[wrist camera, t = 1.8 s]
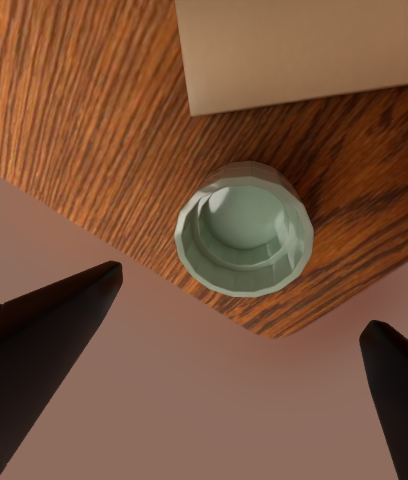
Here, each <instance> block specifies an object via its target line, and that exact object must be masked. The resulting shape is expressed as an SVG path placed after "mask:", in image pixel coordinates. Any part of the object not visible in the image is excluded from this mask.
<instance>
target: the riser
mask: <svg viewBox="0 0 408 480" xmlns="http://www.w3.org/2000/svg"><path fill="white" fill-rule="evenodd" d="M175 6H176V14H177V21H178V28H179V35H180V43H181V50H182V57H183V64H184V72H185V79H186V86H187V93H188V101H189V108H190V115H191V116H192V117H198V116H209V115H215V114H222V113H229V112H235V111H242V110H248V109H255V108H262V107H268V106H275V105H281V104H288V103H295V102H301V101H308V100H314V99H321V98H328V97H334V96H341V95H347V94H354V93H361V92H367V91H374V90H380V89H387V88H394V87H400V86H407V85H408V0H175Z"/></svg>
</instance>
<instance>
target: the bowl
mask: <svg viewBox="0 0 408 480" xmlns="http://www.w3.org/2000/svg"><path fill="white" fill-rule="evenodd" d="M174 237H175V242H176V247H177V251H178V256H179V258H180V260H181V261H182V263H183V264H184V266H185V267H186V269H187V270H188V272H189V273H190V275H192V277H194V278H195V279H196V280H198V281H199V282H200V283H202V284H203V285H205V286H206V287H207V288H209V289H210V290H213V291H216V292H219V293H222V294H225V295H228V296H232V297H258V296H262V295H265V294H269V293H272V292H276V291H279V290H280V289H282V288H283V287H285V286H286V285H287V284H289V283H290V282H292V281H293V280H294V279H296V278H297V277H298V276H299V275H300V274H301V272H302V270H303V269H304V267H305V265H306V264H307V262H308V261H309V259H310V257H311V255H312V247H313V237H314V229H313V226H312V224H311V221H310V219H309V216H308V214H307V211H306V209H305V206H304V205H303V203H302V201H301V199H300V198H299V196H298V194H297V192H296V191H295V189H294V187H293V185H292V184H291V182H290V181H289V180H288V179H287V178H285V177H284V176H283V175H282V174H281V173H280V172H279V171H278V170H277V169H275V168H274V167H271V166H268V165H265V164H262V163H259V162H256V161H241V162H232V163H229V164H225V165H224V166H222V167H220V168H218V169H216V170H214V171H213V172H211V173H210V174H208V175H207V176H206V178H205V179H204V180H203V182H202V183H201V184H200V185H199V187H198V188H197V189H196V191H195V192H194V193H193V195H192V196H191V197H190V199H189V200H188V201H187V203H186V204H185V205H184V207H183V208H182V209H181V211H180V213H179V216H178V220H177V225H176V229H175V234H174Z"/></svg>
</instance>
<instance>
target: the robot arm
mask: <svg viewBox="0 0 408 480" xmlns="http://www.w3.org/2000/svg"><path fill="white" fill-rule="evenodd" d="M122 282H123V274H122V265H121V263H119V262H116V261H108V262H105V263H103V264H100V265H98V266H95V267H93V268H90V269H88V270H85V271H83V272H80V273H78V274H75V275H73V276H70V277H68V278H65V279H63V280H60V281H58V282H55V283H53V284H50V285H48V286H45V287H43V288H40V289H38V290H35V291H33V292H30V293H28V294H25V295H23V296H20V297H18V298H15V299H13V300H10V301H8V302H5V303H4V304H0V475H1V473H2V472H3V470H4V469H5V467H6V466H7V463H8V462H9V461H10V459H11V458H12V456H13V455H14V453H15V452H16V450H17V449H18V447H19V446H20V444H21V443H22V441H23V440H24V438H25V437H26V435H27V433H28V432H29V431H30V429H31V428H32V426H33V425H34V423H35V422H36V420H37V419H38V417H39V416H40V414H41V413H42V411H43V410H44V408H45V407H46V405H47V404H48V402H49V401H50V399H51V398H52V396H53V395H54V393H55V392H56V390H57V389H58V387H59V386H60V384H61V383H62V381H63V380H64V379H65V377H66V376H67V374H68V373H69V371H70V370H71V368H72V366H73V365H74V364H75V362H76V361H77V359H78V357H79V356H80V355H81V353H82V352H83V350H84V348H85V347H86V345H87V344H88V343H89V341H90V339H91V338H92V336H93V335H94V334H95V332H96V331H97V329H98V328H99V326H100V324H101V323H102V321H103V319H104V318H105V316H106V314H107V312H108V310H109V309H110V307H111V305H112V303H113V301H114V299H115V297H116V295H117V293H118V291H119V289H120V287H121V285H122ZM359 342H360V347H361V352H362V356H363V361H364V366H365V371H366V375H367V380H368V384H369V388H370V391H371V395H372V398H373V401H374V404H375V407H376V410H377V414H378V417H379V420H380V423H381V426H382V429H383V432H384V435H385V438H386V442H387V445H388V448H389V451H390V454H391V457H392V460H393V464H394V467H395V470H396V473H397V476H398V479H399V480H408V339H407V338H405V337H404V336H403V335H401V334H400V333H399V332H398V331H396V330H395V329H394V328H393V327H391V326H390V325H389V324H388V323H385V322H382V321H377V320H372V321H370V322H369V324H368V325H367V326H366V328H365V329H364V331H363V332H362V333H361V335H360V339H359Z"/></svg>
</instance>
